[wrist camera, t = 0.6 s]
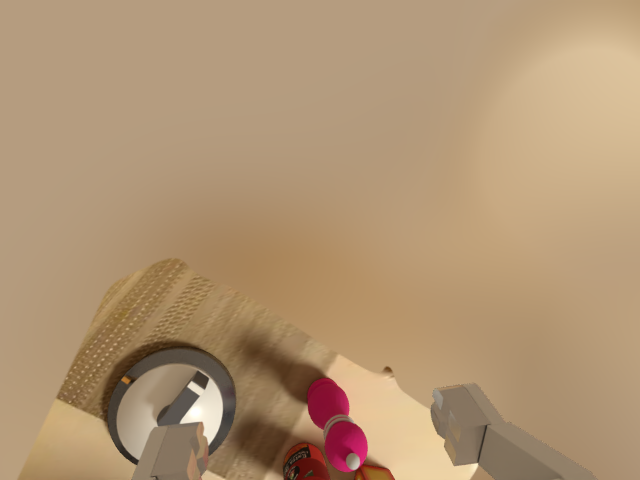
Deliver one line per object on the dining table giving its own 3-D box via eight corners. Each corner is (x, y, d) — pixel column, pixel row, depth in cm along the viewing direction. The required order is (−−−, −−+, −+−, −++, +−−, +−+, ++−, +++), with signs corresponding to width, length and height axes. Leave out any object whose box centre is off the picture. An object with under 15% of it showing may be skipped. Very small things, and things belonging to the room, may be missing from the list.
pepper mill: (296, 401, 58) (315, 478, 39) (318, 367, 59) (347, 426, 40) (328, 420, 59) (361, 505, 40) (348, 387, 60) (392, 453, 41)
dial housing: (252, 429, 57) (252, 437, 54) (140, 485, 53) (134, 497, 50) (211, 327, 56) (209, 331, 53) (94, 377, 52) (85, 383, 50)
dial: (180, 478, 52) (171, 505, 47) (98, 425, 50) (78, 447, 45) (242, 397, 54) (240, 413, 49) (166, 343, 52) (155, 354, 47)
